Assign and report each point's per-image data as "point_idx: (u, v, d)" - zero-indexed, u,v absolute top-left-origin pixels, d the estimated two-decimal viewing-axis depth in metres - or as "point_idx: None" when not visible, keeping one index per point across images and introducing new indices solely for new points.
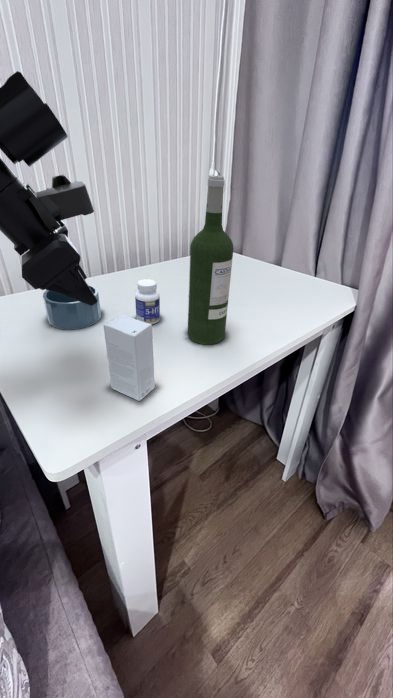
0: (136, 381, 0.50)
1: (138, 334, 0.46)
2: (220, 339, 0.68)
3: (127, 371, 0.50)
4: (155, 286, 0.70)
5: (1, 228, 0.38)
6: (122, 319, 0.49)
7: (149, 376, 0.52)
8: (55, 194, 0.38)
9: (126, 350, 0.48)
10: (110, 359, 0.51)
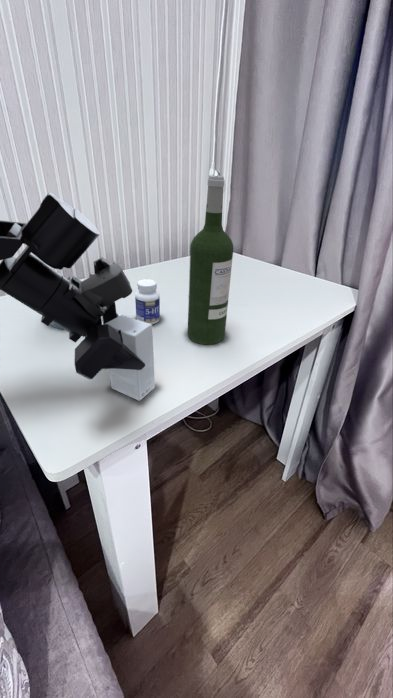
0: (136, 381, 0.50)
1: (139, 334, 0.46)
2: (220, 339, 0.68)
3: (127, 371, 0.50)
4: (155, 286, 0.70)
5: (56, 323, 0.43)
6: (122, 319, 0.49)
7: (149, 376, 0.52)
8: (95, 287, 0.41)
9: None
10: None
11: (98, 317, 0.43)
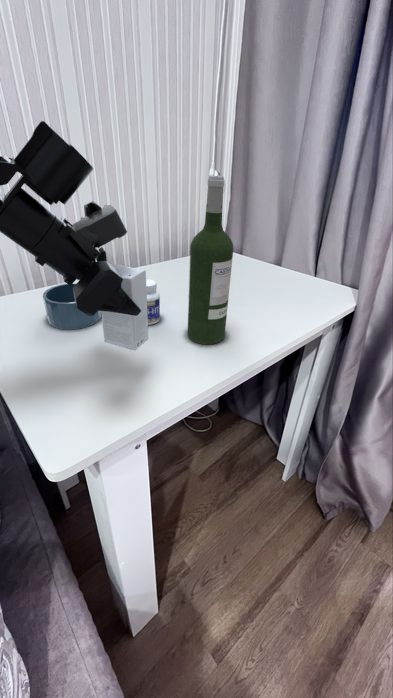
0: (131, 329, 0.50)
1: (134, 277, 0.46)
2: (220, 339, 0.68)
3: (122, 319, 0.50)
4: (155, 286, 0.70)
5: (50, 265, 0.42)
6: (115, 267, 0.49)
7: (143, 325, 0.52)
8: (91, 225, 0.41)
9: None
10: None
11: (94, 257, 0.43)
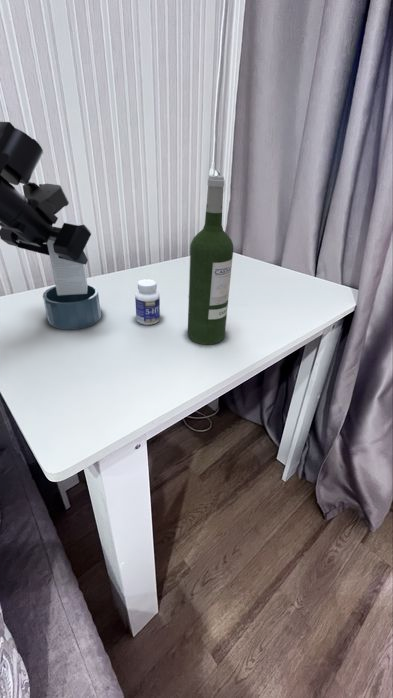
0: (82, 276, 0.67)
1: None
2: (220, 339, 0.68)
3: (74, 271, 0.66)
4: (155, 286, 0.70)
5: (24, 232, 0.55)
6: None
7: (85, 274, 0.70)
8: (49, 197, 0.56)
9: None
10: (55, 266, 0.65)
11: (54, 222, 0.58)
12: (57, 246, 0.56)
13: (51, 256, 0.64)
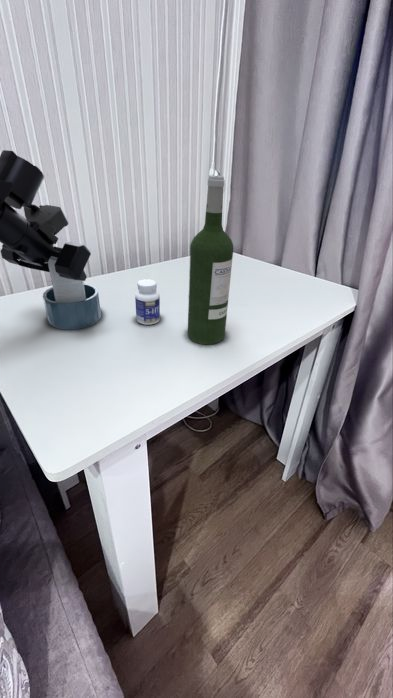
0: (82, 291, 0.70)
1: None
2: (220, 339, 0.68)
3: (73, 287, 0.69)
4: (155, 286, 0.70)
5: (27, 253, 0.58)
6: None
7: (84, 289, 0.72)
8: (50, 219, 0.59)
9: None
10: (55, 283, 0.67)
11: (55, 242, 0.61)
12: (58, 266, 0.58)
13: (51, 273, 0.66)
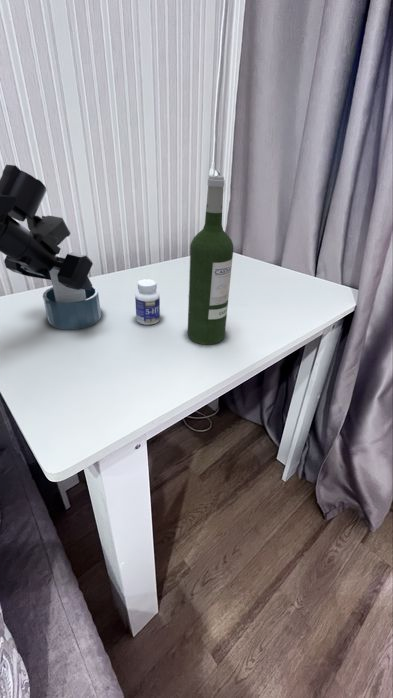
0: None
1: None
2: (220, 339, 0.68)
3: (75, 297, 0.70)
4: (155, 286, 0.70)
5: (30, 264, 0.59)
6: None
7: None
8: (52, 230, 0.60)
9: None
10: (58, 294, 0.69)
11: (58, 252, 0.62)
12: (61, 277, 0.60)
13: (54, 285, 0.67)
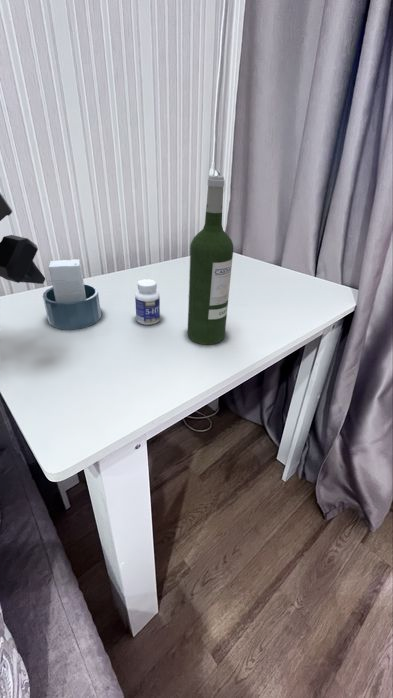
0: None
1: (79, 264, 0.68)
2: (220, 339, 0.68)
3: (75, 297, 0.70)
4: (155, 286, 0.70)
5: None
6: (56, 262, 0.68)
7: None
8: None
9: (73, 279, 0.68)
10: (58, 294, 0.69)
11: None
12: None
13: (54, 285, 0.67)
